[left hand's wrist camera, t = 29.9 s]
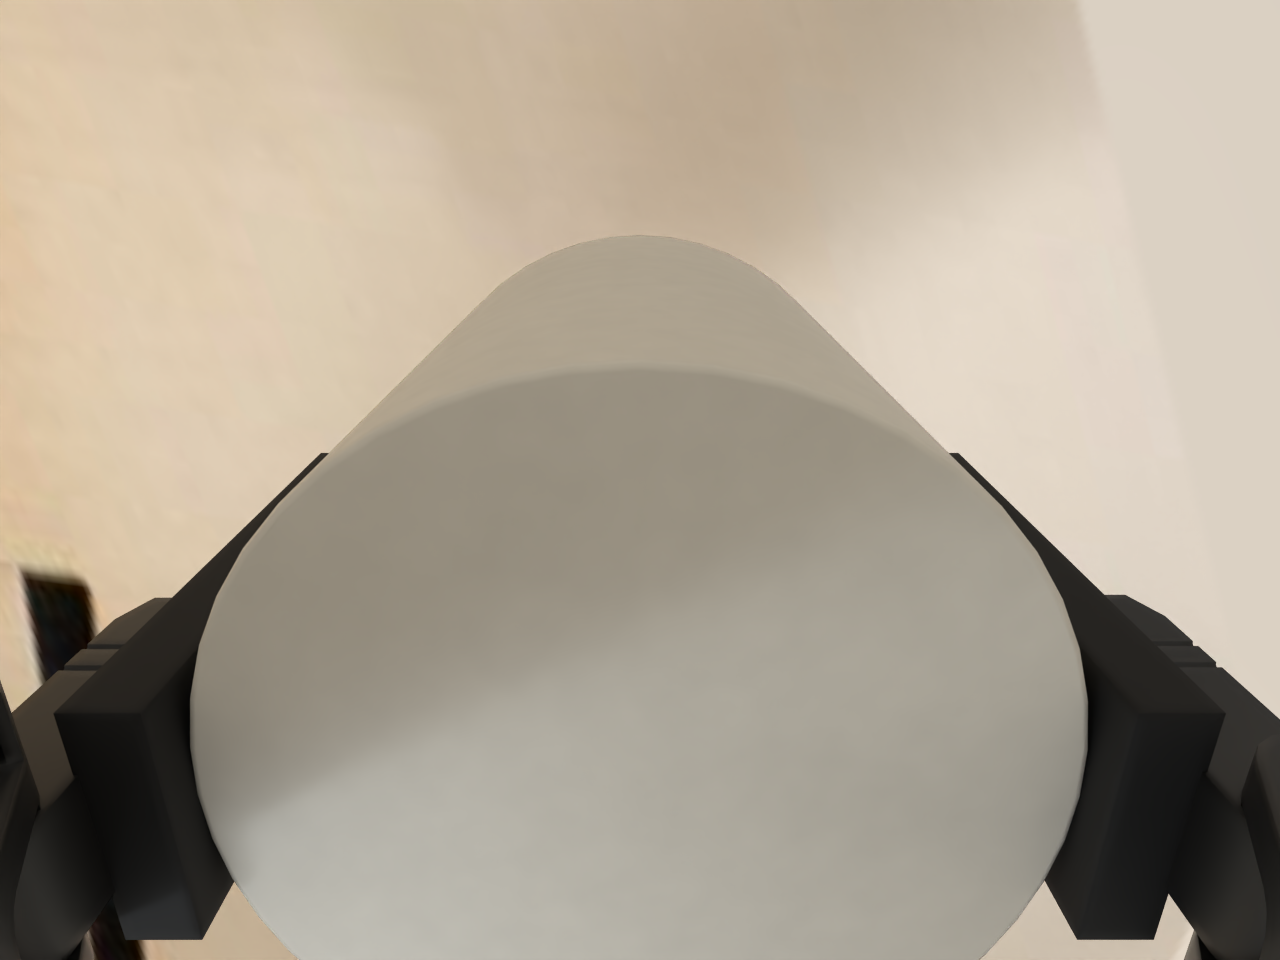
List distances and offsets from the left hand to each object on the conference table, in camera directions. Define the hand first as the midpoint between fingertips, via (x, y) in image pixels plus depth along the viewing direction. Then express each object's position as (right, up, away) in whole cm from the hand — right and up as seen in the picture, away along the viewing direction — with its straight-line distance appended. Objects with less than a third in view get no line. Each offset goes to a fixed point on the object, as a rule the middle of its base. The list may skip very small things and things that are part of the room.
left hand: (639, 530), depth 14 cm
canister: (0, +1, +3) cm, 4 cm away
